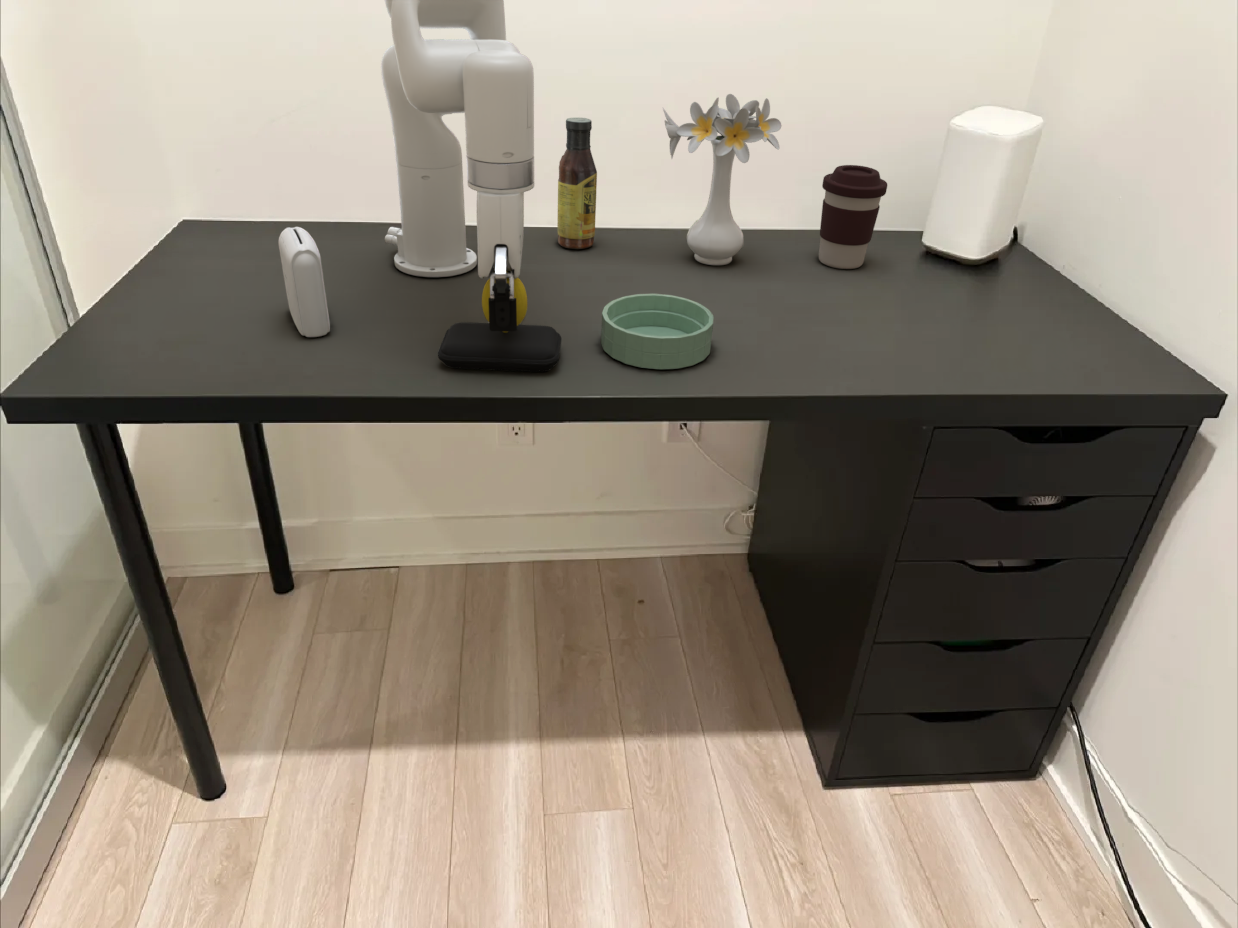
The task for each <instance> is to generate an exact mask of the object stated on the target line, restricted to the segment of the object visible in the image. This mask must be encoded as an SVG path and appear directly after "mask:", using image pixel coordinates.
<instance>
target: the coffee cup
mask: <svg viewBox="0 0 1238 928" xmlns="http://www.w3.org/2000/svg"><path fill="white" fill-rule="evenodd" d="M822 189H823V190H824V192H825V193H824V198H823V200H822V207H821V218H820V228H819V236H820V243H819V251H818V260H819V261H820V263H822V264H823V265H825V266H827V267H831V268H835V269H841V270H852V269H857V268H861V266H862V265H863V264H864V262H865V257H866V255H867V250H868V247H869V243H870V242H871V240H872V238H873V233H874V229H875V225H876V222H877V219H878V216H879V211H880V207H881V205H880V202H881V199H882V198H883V197H884V196H885V195H886V194H887V189H888V182H887V181H886V180H884V179H882V178H881V175H880V171H878V170H877V169H875V168H872V167H869V166H864V165H857V164H843V165H838V166H837V167H835V168H834V169H833V172H831V173H828V174H826V175H824V176H823V179H822Z"/></svg>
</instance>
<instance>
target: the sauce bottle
mask: <svg viewBox="0 0 1238 928" xmlns="http://www.w3.org/2000/svg"><path fill="white" fill-rule="evenodd" d="M592 122H593V121H592V119H590V118H586V117H568V118H566V119H565V129H566V143H565V147H566V149H565V151H564V153H563V154H562V155H561V157H560V159H559V162H558V163H559V165H558V180H557V225H556V226H557V228H556V229H557V242H558V245H560V246H561V247H562V248H566V249H572V250H582V249H583V250H584V249H588V248H591V247H592V246H593V245H594V242H595V241H594V239H595V236H596V213H597V186H598V171H597V168H596V164H595V160H594V157H593V154H592V150H591V131H592V129H593V127H592Z"/></svg>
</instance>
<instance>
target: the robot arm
mask: <svg viewBox="0 0 1238 928" xmlns="http://www.w3.org/2000/svg"><path fill="white" fill-rule="evenodd" d="M384 4H385V8H386V11H387V14H388V16H389V18H390V24H391V25H390V26H391V27H390V28H391V35H392V42H393V44H392V45H390V46H389V47H388V48H386V50H385V51H384V53H383V54H382V57H381V60H380V74H381V80H382V86H383V88H384V94H385V97H386V102H387V106H388V111H389V116H390V122H391V129H392V136H393V137H392V138H393V145H394V157H395V168H396V178H397V191H398V201H399V212H400V213H399V215H400V223H401V228H400V227H395V226H390V227H389V228H388V230H387V233H386V235H385V236H384V243H385V244H387V245H393V246H394V245H395V246H397V252H396V254H395V255H394V256H393V260H394V261H393V262H394V266H395V268H396V269H397V270H399V272H402V273H404V274H407V275H410V276H414V277H420V278H448V277H454V276H455V277H456V276H459V275H462V274H466V273H468V272H471V271H472V270H473V269H475V267H477V276H478V277H479V279H484V278H490V298H489V299H488V301H489V322H488V323H489V328H490V330H491V331H516V330H517V306H516V298H514V276H515V279H516V278H519V277H520V275H521V268H522V267H521V266H522V258H523V248H524V231H525V230H524V229H525V219H524V218H525V193H526V192H530V191H531V190H533V189H534V188H535V93H534V92H535V76H534V75H535V73H534V66H533V63H532V61H531V59H530V57H528V56H526V55H525V54H522V52H521V51H520V49H519V48H518V47H517V46H516V45H515V44H514V43H513V42H510V41H508V40H507V30H506V28H507V27H506V14H505V1H504V0H384ZM421 29H431V30H432V29H463V30H465V31H466V32H467V33H468V36H469V38H467V39H466V38H465V39H462V38H461V39H459V38H458V39H455V38H454V39H452V38H451V39H446V38H445V39H444V38H443V39H441V38H436V39H435V38H433V39H430V38H429V39H425V38H423V35H422V32H421ZM452 114H464V130H465V131H464V132H465V151H466V155H465V156H466V157H465V158H466V176H467V177H466V178H467V186H468V188H470V189H471V190H472V191H475V192H476V236H477V237H476V240H477V253H476V252H475V251H473V250H472V249H470V248H468V247H467V234H466V233H467V231H466V229H467V228H466V211H465V210H466V208H465V186H464V169H463V151H462V146H461V143H460V141H459V139H458V137H457V136H456V134H455V133H454V132H453V131H452V129H451V128H450V127H449V126H448V125H447V124H446V123H445V121H444V120H443V118H442V117H444V116H446V115H452ZM506 271H507V272H508V273H506ZM507 281H509V283H507Z"/></svg>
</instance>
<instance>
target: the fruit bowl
mask: <svg viewBox="0 0 1238 928" xmlns="http://www.w3.org/2000/svg"><path fill="white" fill-rule="evenodd" d="M714 318H715V316H714V315H713V313H712V312H711V310H710V309H709V308H707V307H706V306H704V305H703V304H701V303H700V302H697V301H694V300H692V299H689V298H686V297H681V296H677V295H672V294H664V293H663V294H661V293H637V294H631V295H625V296H622V297H621V296H620V297H618V298H616V299H613V300H611V301H609V302H608V303H607V304H606V305H604V307H603V310H602V312H601V333H600V344H601V347H602V349H603V351H604V352H605V353H606V354H607V355H608V356H609V357H611V358H612V359H615V360H616V361H619V362H621V363H623V364H625V365H629V366H633V367H636V368H642V369H650V370H651V369H652V370H677V369H683V368H687V367H692V366H694V365H697V364H698V363H701V362H703V361H705V359H706V358H707V357H708V356H709V355H710V353H711V347H712V337H713V330H714V329H713V328H714Z"/></svg>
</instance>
